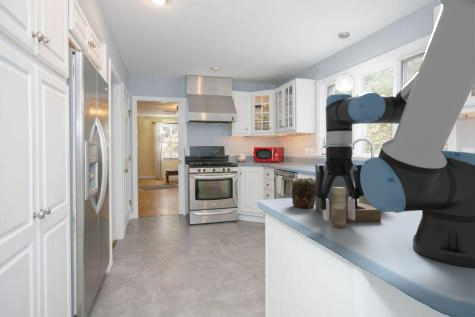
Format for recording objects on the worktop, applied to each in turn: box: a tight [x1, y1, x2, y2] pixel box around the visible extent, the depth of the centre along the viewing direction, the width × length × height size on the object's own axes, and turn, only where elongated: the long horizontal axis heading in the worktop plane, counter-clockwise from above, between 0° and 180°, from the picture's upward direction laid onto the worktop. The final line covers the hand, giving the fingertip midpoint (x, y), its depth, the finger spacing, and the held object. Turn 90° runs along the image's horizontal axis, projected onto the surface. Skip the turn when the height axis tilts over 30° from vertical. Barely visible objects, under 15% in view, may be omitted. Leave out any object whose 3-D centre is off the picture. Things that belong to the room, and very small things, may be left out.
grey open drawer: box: [314, 163, 362, 212], centre depth 102 cm, size 8×15×18 cm, turn 96°
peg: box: [331, 187, 347, 229], centre depth 83 cm, size 4×4×12 cm
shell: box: [291, 177, 315, 209], centre depth 112 cm, size 11×11×12 cm
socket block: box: [318, 200, 382, 224], centre depth 96 cm, size 17×14×4 cm
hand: (338, 219), depth 83 cm, fingers open, 8 cm apart
